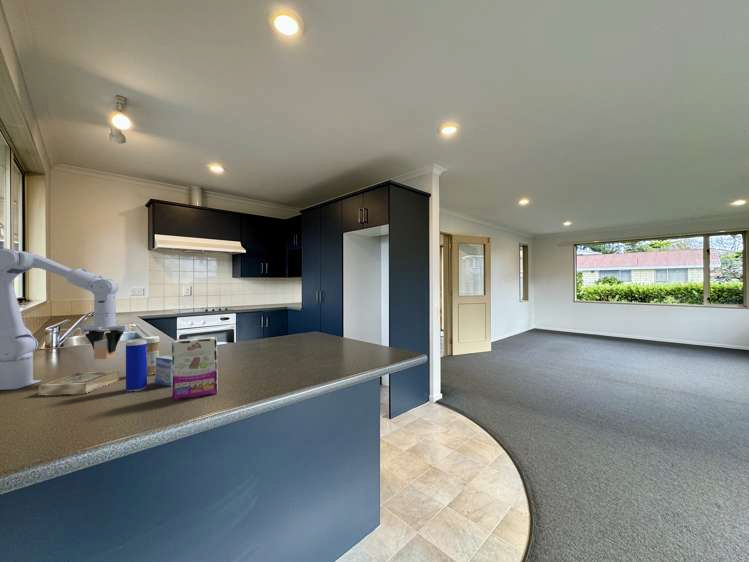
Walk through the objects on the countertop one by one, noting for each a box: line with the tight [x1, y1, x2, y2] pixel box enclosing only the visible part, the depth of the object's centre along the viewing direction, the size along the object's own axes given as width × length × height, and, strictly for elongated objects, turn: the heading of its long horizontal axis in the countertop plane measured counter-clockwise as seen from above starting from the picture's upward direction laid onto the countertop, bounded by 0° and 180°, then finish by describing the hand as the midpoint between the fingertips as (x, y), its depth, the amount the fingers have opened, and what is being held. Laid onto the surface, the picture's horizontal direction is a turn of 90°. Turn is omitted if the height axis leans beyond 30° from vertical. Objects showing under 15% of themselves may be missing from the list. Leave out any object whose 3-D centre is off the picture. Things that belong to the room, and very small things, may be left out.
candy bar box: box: [171, 335, 219, 401], centre depth 89 cm, size 11×5×16 cm, turn 115°
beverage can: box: [125, 339, 148, 393], centre depth 94 cm, size 5×5×15 cm
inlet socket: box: [59, 375, 103, 384], centre depth 96 cm, size 7×7×2 cm
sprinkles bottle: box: [143, 335, 160, 376], centre depth 110 cm, size 5×5×13 cm
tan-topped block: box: [93, 339, 116, 360], centre depth 107 cm, size 4×4×6 cm
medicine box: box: [154, 354, 173, 387], centre depth 99 cm, size 8×4×9 cm, turn 68°
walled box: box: [37, 370, 120, 397], centre depth 96 cm, size 13×13×3 cm
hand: (104, 352), depth 106 cm, fingers closed on tan-topped block, 4 cm apart
